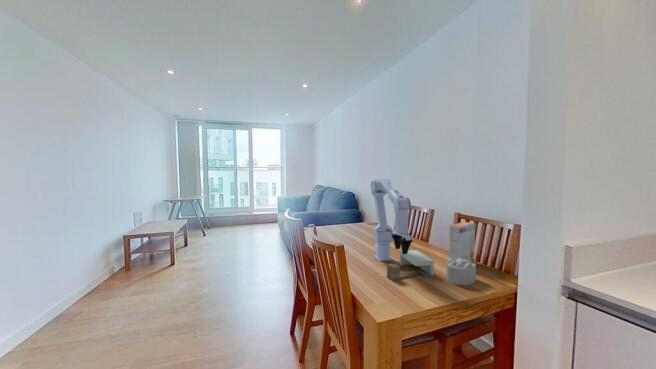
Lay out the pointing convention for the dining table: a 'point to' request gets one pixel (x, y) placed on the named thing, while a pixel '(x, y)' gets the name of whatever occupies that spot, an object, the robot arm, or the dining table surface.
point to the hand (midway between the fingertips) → (401, 251)
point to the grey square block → (425, 274)
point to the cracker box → (462, 241)
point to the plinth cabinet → (417, 260)
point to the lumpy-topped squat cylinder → (461, 271)
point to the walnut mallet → (395, 274)
